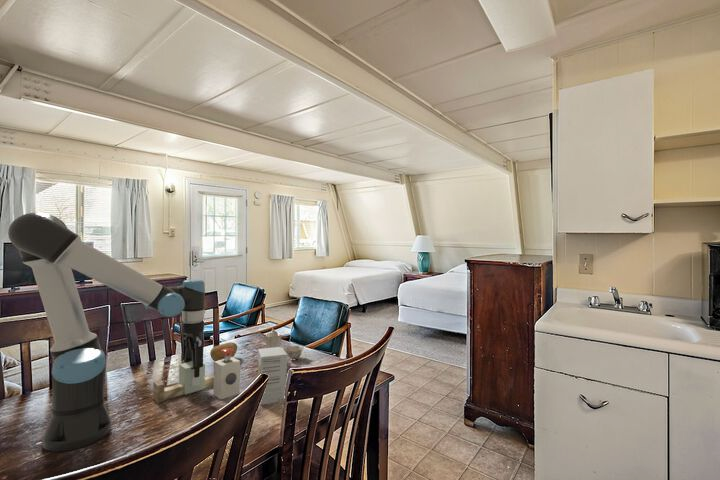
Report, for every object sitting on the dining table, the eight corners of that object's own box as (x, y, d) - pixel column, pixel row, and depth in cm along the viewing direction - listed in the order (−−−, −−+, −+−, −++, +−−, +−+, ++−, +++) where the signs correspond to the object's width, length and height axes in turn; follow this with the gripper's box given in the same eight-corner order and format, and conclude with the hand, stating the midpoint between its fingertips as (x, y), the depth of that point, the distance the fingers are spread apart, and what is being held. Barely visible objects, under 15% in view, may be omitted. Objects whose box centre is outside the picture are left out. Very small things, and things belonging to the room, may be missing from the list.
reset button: (224, 364, 123) (224, 352, 123) (218, 361, 126) (218, 349, 126) (235, 361, 126) (236, 349, 126) (230, 358, 129) (230, 347, 129)
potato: (243, 357, 164) (243, 341, 164) (221, 367, 151) (221, 349, 151) (227, 354, 168) (227, 338, 168) (204, 364, 155) (204, 346, 155)
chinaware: (281, 382, 141) (286, 342, 140) (245, 374, 144) (249, 335, 143) (305, 359, 168) (309, 326, 168) (273, 353, 171) (277, 320, 171)
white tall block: (221, 399, 121) (222, 366, 121) (213, 394, 125) (214, 361, 125) (240, 393, 126) (240, 361, 126) (231, 388, 130) (232, 356, 130)
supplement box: (256, 393, 126) (257, 348, 126) (281, 390, 130) (282, 345, 130) (259, 405, 117) (260, 356, 117) (286, 401, 121) (287, 353, 121)
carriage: (184, 394, 124) (185, 368, 124) (178, 389, 128) (179, 364, 128) (204, 388, 129) (205, 363, 129) (198, 384, 133) (198, 359, 133)
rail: (157, 403, 118) (158, 385, 117) (153, 398, 121) (153, 381, 121) (229, 381, 137) (230, 366, 137) (224, 377, 140) (224, 363, 140)
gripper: (214, 324, 124) (212, 387, 124) (193, 315, 137) (192, 372, 137) (192, 327, 119) (191, 393, 119) (173, 318, 132) (172, 377, 132)
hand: (191, 382), depth 128 cm, fingers closed on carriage, 6 cm apart
